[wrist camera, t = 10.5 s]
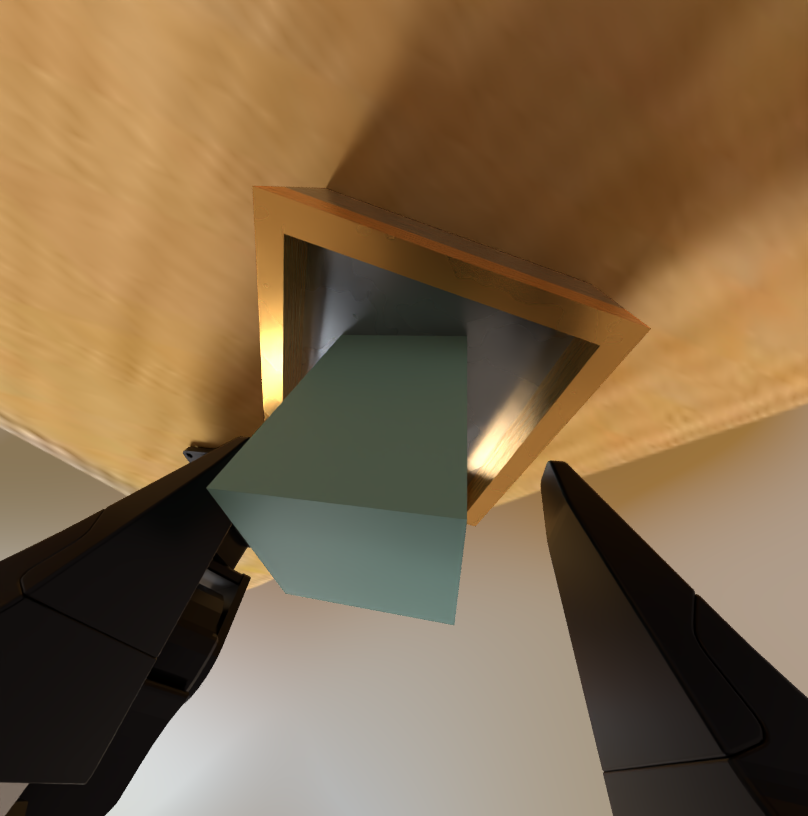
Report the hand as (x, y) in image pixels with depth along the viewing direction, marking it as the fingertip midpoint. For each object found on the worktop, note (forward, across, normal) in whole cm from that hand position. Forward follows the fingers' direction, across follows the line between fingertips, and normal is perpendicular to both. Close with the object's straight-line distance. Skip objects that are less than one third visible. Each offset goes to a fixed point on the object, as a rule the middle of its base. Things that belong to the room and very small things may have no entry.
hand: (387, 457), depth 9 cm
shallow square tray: (+7, 0, 0) cm, 7 cm away
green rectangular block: (+4, 0, 0) cm, 4 cm away
